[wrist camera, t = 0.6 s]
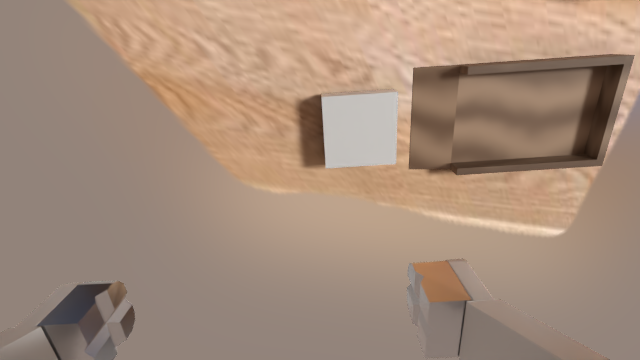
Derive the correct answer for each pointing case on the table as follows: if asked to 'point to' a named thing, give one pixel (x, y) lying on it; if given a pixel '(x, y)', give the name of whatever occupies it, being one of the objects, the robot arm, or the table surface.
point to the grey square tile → (360, 128)
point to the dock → (516, 114)
